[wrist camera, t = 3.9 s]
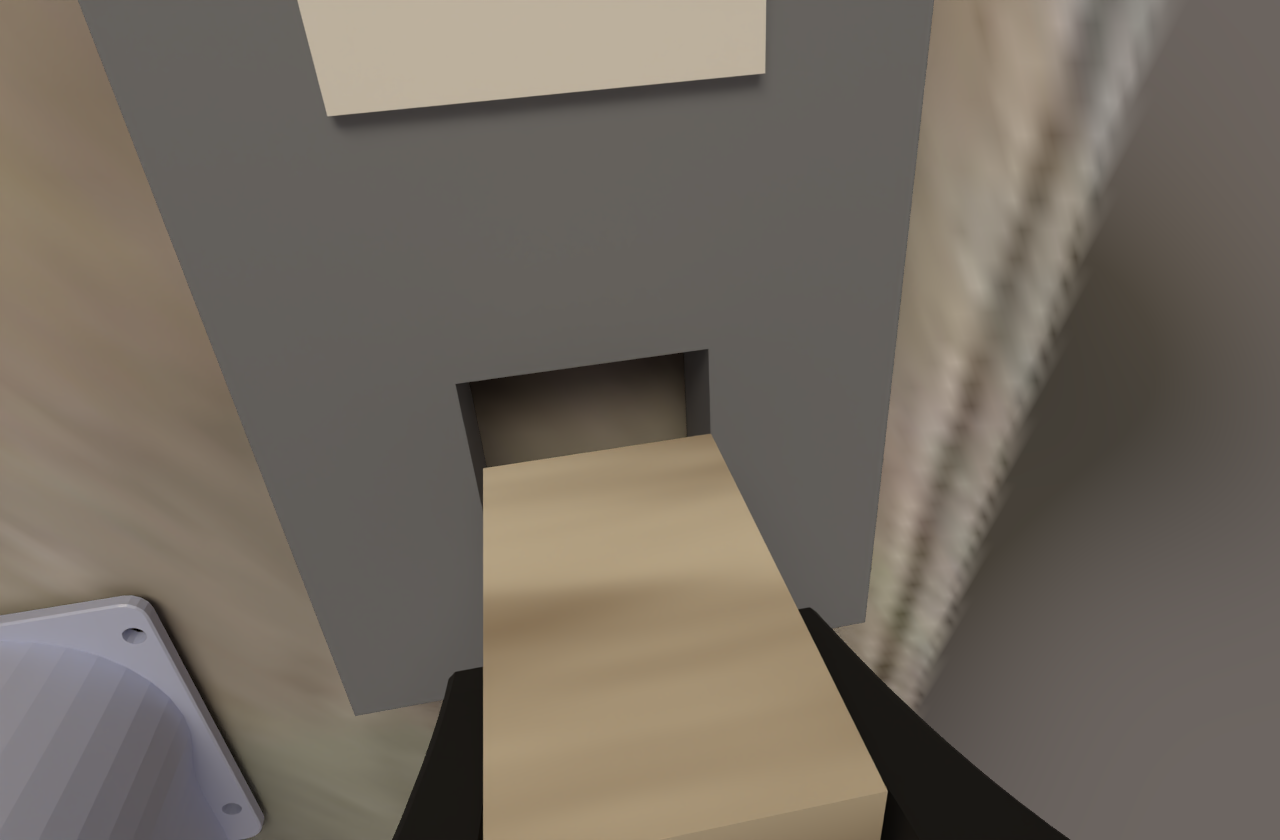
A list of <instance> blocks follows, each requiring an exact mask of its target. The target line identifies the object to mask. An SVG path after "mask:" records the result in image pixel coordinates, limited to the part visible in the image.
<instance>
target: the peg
mask: <svg viewBox="0 0 1280 840" xmlns="http://www.w3.org/2000/svg"><path fill="white" fill-rule="evenodd" d="M887 793H888V791H887V789H886V787H885V784H884V782H883V780H882V778H881V776H880V774H879V772H878V770H877V768H876V766H875V764H874V762H873V760H872V758H871V756H870V754H869V752H868V750H867V748H866V746H865V744H864V742H863V740H862V738H861V736H860V734H859V732H858V730H857V728H856V726H855V724H854V722H853V720H852V718H851V716H850V714H849V712H848V710H847V708H846V706H845V704H844V702H843V700H842V698H841V695H840V693H839V691H838V689H837V687H836V685H835V683H834V681H833V679H832V677H831V675H830V673H829V671H828V669H827V667H826V665H825V663H824V661H823V659H822V657H821V655H820V653H819V651H818V649H817V647H816V645H815V643H814V641H813V639H812V637H811V635H810V633H809V631H808V629H807V627H806V625H805V623H804V621H803V619H802V617H801V615H800V613H799V611H798V609H797V607H796V604H795V602H794V600H793V598H792V596H791V594H790V592H789V590H788V588H787V586H786V584H785V582H784V580H783V578H782V576H781V574H780V572H779V570H778V568H777V566H776V564H775V562H774V560H773V558H772V556H771V554H770V552H769V550H768V548H767V546H766V544H765V542H764V540H763V538H762V536H761V534H760V532H759V530H758V528H757V526H756V524H755V522H754V520H753V518H752V516H751V513H750V511H749V509H748V507H747V505H746V503H745V501H744V499H743V497H742V495H741V493H740V491H739V489H738V487H737V485H736V483H735V481H734V479H733V477H732V475H731V473H730V471H729V469H728V467H727V465H726V463H725V461H724V459H723V457H722V455H721V453H720V451H719V449H718V447H717V445H716V443H715V441H714V439H713V437H712V435H711V434H705V435H698V436H692V437H685V438H679V439H672V440H665V441H659V442H652V443H646V444H639V445H633V446H626V447H620V448H613V449H607V450H600V451H593V452H587V453H580V454H574V455H567V456H561V457H554V458H548V459H541V460H535V461H528V462H522V463H515V464H508V465H502V466H495V467H489V468H483V840H880V838H881V832H882V825H883V819H884V813H885V806H886V800H887Z"/></svg>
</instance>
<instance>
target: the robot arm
mask: <svg viewBox="0 0 1280 840" xmlns="http://www.w3.org/2000/svg"><path fill="white" fill-rule="evenodd" d="M798 611H799V613H800V615H801V617H802V619H803V621H804V623H805V625H806V627H807V629H808V631H809V633H810V635H811V637H812V639H813V641H814V643H815V645H816V647H817V649H818V651H819V653H820V655H821V657H822V659H823V661H824V663H825V665H826V667H827V669H828V671H829V673H830V675H831V677H832V679H833V681H834V683H835V685H836V687H837V689H838V691H839V693H840V695H841V698H842V700H843V702H844V704H845V706H846V708H847V710H848V712H849V714H850V716H851V718H852V720H853V722H854V724H855V726H856V728H857V730H858V732H859V734H860V736H861V738H862V740H863V742H864V744H865V746H866V748H867V750H868V752H869V754H870V756H871V758H872V760H873V762H874V764H875V766H876V768H877V770H878V772H879V774H880V776H881V778H882V780H883V782H884V784H885V787H886V789H887V791H888V793H887V800H886V806H885V813H884V819H883V825H882V832H881V838H880V840H1070V839H1069V838H1067V837H1066V836H1064V835H1063V834H1062V833H1060V832H1059V831H1057V830H1056V829H1055V828H1053V827H1051V826H1050V825H1049V824H1048V823H1046V822H1045V821H1044V820H1043V819H1041V818H1040V817H1039V816H1037V815H1036V814H1035V813H1033V812H1032V811H1031V810H1029V809H1028V808H1027V807H1025V806H1024V805H1023V804H1021V803H1020V802H1019V801H1018V800H1016V799H1015V798H1014V797H1012V796H1011V795H1010V794H1009V793H1007V792H1006V791H1005V790H1004V789H1002V788H1001V787H1000V786H999V785H997V784H996V783H995V782H994V781H993V780H991V779H990V778H989V777H988V776H986V775H985V774H984V773H983V772H982V771H980V770H979V769H978V768H977V767H976V766H975V765H973V764H972V763H971V762H970V761H969V760H968V759H966V758H965V757H964V756H963V755H962V754H961V753H959V752H958V751H957V750H956V749H955V748H954V747H952V746H951V745H950V744H949V743H948V742H946V741H945V740H944V739H943V738H942V737H941V736H940V735H939V734H938V733H937V732H935V731H934V730H933V729H932V728H931V727H930V726H929V725H928V724H927V723H926V722H925V721H924V720H923V719H921V718H920V717H919V716H918V715H917V714H916V713H915V712H914V711H913V710H912V709H911V708H910V707H909V706H908V705H907V704H906V703H905V702H903V701H902V700H901V699H900V698H899V697H898V696H897V695H896V694H895V693H894V692H893V691H892V690H891V689H890V688H889V687H888V686H887V685H886V684H885V683H884V682H883V681H882V680H881V679H880V678H879V677H878V676H877V675H876V674H875V673H874V672H873V671H872V670H871V669H870V668H869V667H868V666H867V665H866V664H865V663H864V662H863V661H862V660H861V659H860V658H859V657H858V656H857V655H856V654H855V653H854V652H853V651H852V650H851V649H850V648H849V647H848V645H847V644H846V643H845V642H844V641H843V640H842V639H841V638H840V637H839V636H838V635H837V634H836V633H835V632H834V631H833V629H832V628H831V627H830V626H829V625H828V624H827V623H826V622H825V621H824V620H823V619H822V617H821V616H820V615H819V614H818V613H817V612H816V611H815V610H813V609H812V608H810V607H808V608H802V609H798ZM132 628H137V629H140V630H142V631H143V632H137V631H135V630H133V629H132ZM263 822H264V815H263V813H262V811H261V809H260V807H259V805H258V803H257V801H256V800H255V798H254V796H253V794H252V792H251V790H250V788H249V786H248V785H247V783H246V781H245V779H244V777H243V775H242V773H241V771H240V769H239V768H238V766H237V764H236V762H235V760H234V758H233V756H232V754H231V753H230V751H229V749H228V747H227V745H226V743H225V741H224V739H223V737H222V736H221V734H220V732H219V730H218V728H217V726H216V724H215V722H214V721H213V719H212V717H211V715H210V713H209V711H208V709H207V707H206V705H205V704H204V702H203V700H202V698H201V696H200V694H199V692H198V690H197V689H196V687H195V685H194V683H193V681H192V679H191V677H190V675H189V673H188V672H187V670H186V668H185V666H184V664H183V662H182V660H181V658H180V657H179V655H178V653H177V651H176V649H175V647H174V645H173V643H172V642H171V640H170V638H169V636H168V634H167V632H166V630H165V628H164V626H163V625H162V623H161V621H160V619H159V617H158V615H157V613H156V611H155V610H154V608H153V606H152V605H151V604H150V603H149V602H148V601H146V600H145V599H143V598H141V597H137V596H133V595H130V596H118V597H112V598H106V599H99V600H93V601H87V602H81V603H75V604H68V605H62V606H56V607H50V608H44V609H37V610H31V611H25V612H19V613H13V614H6V615H0V840H241V839H247V838H250V837H253V836H255V835H257V834H258V833H260V831H261V829H262V826H263ZM392 840H483V667H478V668H473V669H467V670H462V671H456V672H454V674H453V675H452V676H451V677H450V678H449V679H448V683H447V688H446V692H445V696H444V699H443V703H442V706H441V710H440V713H439V717H438V720H437V723H436V726H435V729H434V732H433V735H432V738H431V741H430V744H429V747H428V750H427V753H426V756H425V758H424V761H423V764H422V767H421V769H420V772H419V775H418V777H417V780H416V782H415V785H414V787H413V790H412V792H411V795H410V798H409V800H408V803H407V805H406V808H405V810H404V813H403V815H402V818H401V820H400V823H399V825H398V827H397V830H396V832H395V834H394V837H393V839H392Z"/></svg>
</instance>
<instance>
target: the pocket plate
mask: <svg viewBox="0 0 1280 840" xmlns="http://www.w3.org/2000/svg"><path fill="white" fill-rule="evenodd" d="M78 2H79V4H80V7H81V9H82V12H83V15H84V17H85V20H86V22H87V25H88V27H89V30H90V33H91V35H92V38H93V40H94V43H95V46H96V48H97V51H98V53H99V56H100V58H101V61H102V64H103V66H104V69H105V71H106V74H107V76H108V79H109V82H110V84H111V87H112V89H113V92H114V95H115V97H116V100H117V102H118V105H119V107H120V110H121V113H122V115H123V118H124V120H125V123H126V126H127V128H128V131H129V133H130V136H131V138H132V141H133V144H134V146H135V149H136V151H137V154H138V157H139V159H140V162H141V164H142V167H143V169H144V172H145V175H146V177H147V180H148V182H149V185H150V187H151V190H152V193H153V195H154V198H155V200H156V203H157V206H158V208H159V211H160V213H161V216H162V218H163V221H164V224H165V226H166V229H167V231H168V234H169V237H170V239H171V242H172V244H173V247H174V249H175V252H176V255H177V257H178V260H179V262H180V265H181V267H182V270H183V273H184V275H185V278H186V280H187V283H188V286H189V288H190V291H191V293H192V296H193V298H194V301H195V304H196V306H197V309H198V311H199V314H200V317H201V319H202V322H203V324H204V327H205V329H206V332H207V335H208V337H209V340H210V342H211V345H212V348H213V350H214V353H215V355H216V358H217V360H218V363H219V366H220V368H221V371H222V373H223V376H224V378H225V381H226V384H227V386H228V389H229V391H230V394H231V397H232V399H233V402H234V404H235V407H236V409H237V412H238V415H239V417H240V420H241V422H242V425H243V428H244V430H245V433H246V435H247V438H248V440H249V443H250V446H251V448H252V451H253V453H254V456H255V458H256V461H257V464H258V466H259V469H260V471H261V474H262V477H263V479H264V482H265V484H266V487H267V489H268V492H269V495H270V497H271V500H272V502H273V505H274V508H275V510H276V513H277V515H278V518H279V520H280V523H281V526H282V528H283V531H284V533H285V536H286V538H287V541H288V544H289V546H290V549H291V551H292V554H293V557H294V559H295V562H296V564H297V567H298V569H299V572H300V575H301V577H302V580H303V582H304V585H305V588H306V590H307V593H308V595H309V598H310V600H311V603H312V606H313V608H314V611H315V613H316V616H317V619H318V621H319V624H320V626H321V629H322V631H323V634H324V637H325V639H326V642H327V644H328V647H329V649H330V652H331V655H332V657H333V660H334V662H335V665H336V668H337V670H338V673H339V675H340V678H341V680H342V683H343V686H344V688H345V691H346V693H347V696H348V699H349V701H350V704H351V706H352V709H353V711H354V714H355V716H358V715H363V714H369V713H374V712H380V711H385V710H390V709H396V708H401V707H407V706H412V705H418V704H423V703H428V702H434V701H439V700H443V699H444V696H445V692H446V688H447V683H448V679H449V678H450V677H451V676H452V675H453V674H454V672H456V671H462V670H467V669H473V668H478V667H483V468H487V466H486V462H485V457H484V452H483V447H482V442H481V437H480V432H479V427H478V423H477V418H476V413H475V408H474V403H473V398H472V393H471V388H470V384H469V382H473V381H480V380H487V379H494V378H502V377H509V376H516V375H523V374H530V373H538V372H545V371H552V370H559V369H566V368H574V367H581V366H588V365H595V364H602V363H610V362H617V361H624V360H631V359H639V358H646V357H653V356H660V355H667V354H675V353H682V352H684V374H685V397H686V420H687V437H692V436H698V435H705V434H711V435H712V437H713V439H714V441H715V443H716V445H717V447H718V449H719V451H720V453H721V455H722V457H723V459H724V461H725V463H726V465H727V467H728V469H729V471H730V473H731V475H732V477H733V479H734V481H735V483H736V485H737V487H738V489H739V491H740V493H741V495H742V497H743V499H744V501H745V503H746V505H747V507H748V509H749V511H750V513H751V516H752V518H753V520H754V522H755V524H756V526H757V528H758V530H759V532H760V534H761V536H762V538H763V540H764V542H765V544H766V546H767V548H768V550H769V552H770V554H771V556H772V558H773V560H774V562H775V564H776V566H777V568H778V570H779V572H780V574H781V576H782V578H783V580H784V582H785V584H786V586H787V588H788V590H789V592H790V594H791V596H792V598H793V600H794V602H795V604H796V607H797V609H802V608H808V607H810V608H812V609H813V610H815V611H816V612H817V613H818V614H819V615H820V616H821V617H822V619H823V620H824V621H825V622H826V623H827V624H828V625H829V626H830V627H831V628H836V627H842V626H847V625H852V624H858V623H863V622H865V617H866V608H867V599H868V590H869V581H870V572H871V563H872V554H873V545H874V536H875V527H876V518H877V509H878V500H879V491H880V482H881V473H882V464H883V455H884V446H885V437H886V428H887V419H888V410H889V401H890V392H891V383H892V374H893V365H894V356H895V347H896V338H897V329H898V320H899V311H900V302H901V293H902V284H903V275H904V266H905V257H906V248H907V239H908V230H909V221H910V212H911V203H912V194H913V185H914V176H915V167H916V158H917V149H918V140H919V131H920V122H921V113H922V104H923V95H924V86H925V77H926V68H927V59H928V50H929V41H930V32H931V23H932V14H933V5H934V0H78Z"/></svg>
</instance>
